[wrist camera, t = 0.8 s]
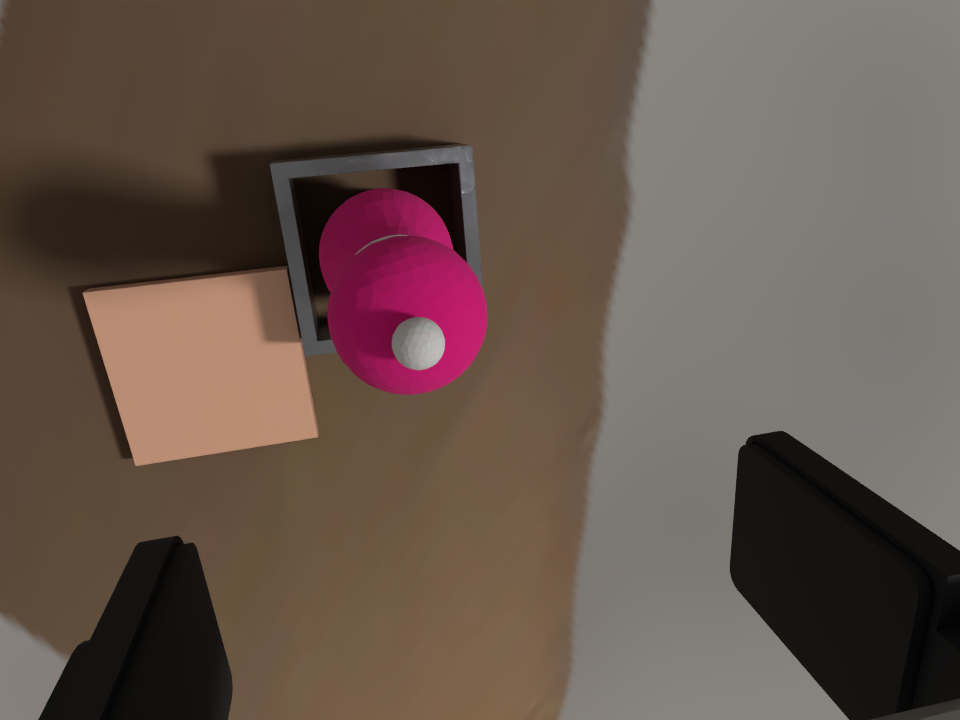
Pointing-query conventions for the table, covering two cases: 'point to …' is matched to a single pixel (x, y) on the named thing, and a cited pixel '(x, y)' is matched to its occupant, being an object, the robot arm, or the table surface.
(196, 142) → the table surface
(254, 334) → the plate
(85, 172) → the table surface
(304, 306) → the holder sleeve
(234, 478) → the table surface
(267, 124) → the table surface
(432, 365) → the pepper mill
